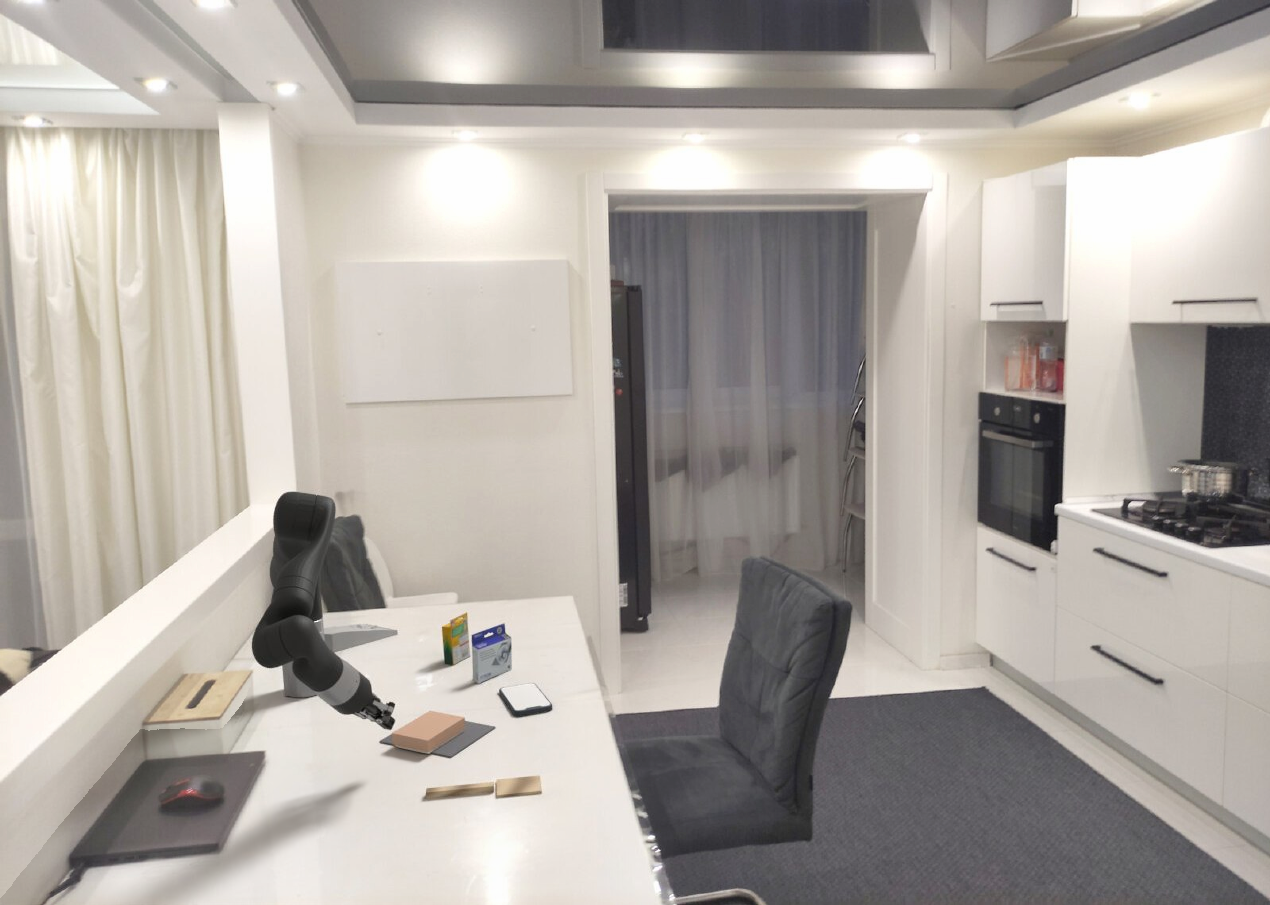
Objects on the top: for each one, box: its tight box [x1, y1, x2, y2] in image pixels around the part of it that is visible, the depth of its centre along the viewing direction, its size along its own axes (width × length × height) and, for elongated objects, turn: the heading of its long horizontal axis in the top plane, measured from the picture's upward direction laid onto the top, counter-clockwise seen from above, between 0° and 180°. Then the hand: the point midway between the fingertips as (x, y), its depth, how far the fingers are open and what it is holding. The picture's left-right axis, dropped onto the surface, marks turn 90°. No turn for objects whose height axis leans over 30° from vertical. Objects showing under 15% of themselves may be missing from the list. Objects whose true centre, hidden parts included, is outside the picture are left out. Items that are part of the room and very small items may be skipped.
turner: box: [425, 774, 543, 800], centre depth 175 cm, size 20×6×1 cm, turn 98°
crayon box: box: [441, 612, 471, 666], centre depth 243 cm, size 7×3×12 cm, turn 154°
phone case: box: [498, 682, 553, 718], centre depth 216 cm, size 9×2×16 cm
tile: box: [391, 710, 466, 755], centre depth 197 cm, size 9×3×12 cm
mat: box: [379, 720, 496, 758], centre depth 199 cm, size 18×15×1 cm
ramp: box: [324, 623, 399, 654], centre depth 260 cm, size 28×16×5 cm, turn 113°
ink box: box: [471, 622, 513, 684], centre depth 231 cm, size 12×2×12 cm, turn 143°
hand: (390, 724), depth 185 cm, fingers closed
